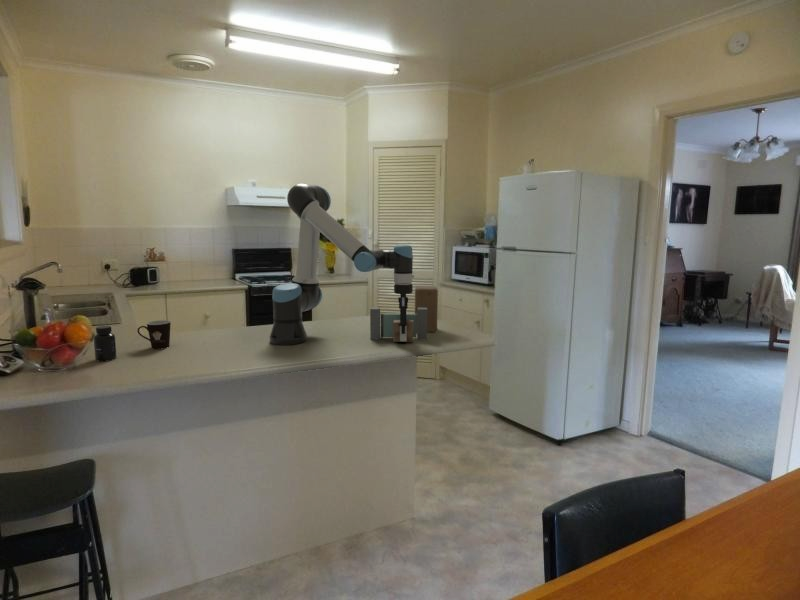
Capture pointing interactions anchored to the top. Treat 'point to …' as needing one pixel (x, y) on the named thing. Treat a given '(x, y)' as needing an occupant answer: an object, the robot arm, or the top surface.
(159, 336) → the coffee mug
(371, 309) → the hinge post
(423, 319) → the post
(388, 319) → the gate
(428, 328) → the wooden block
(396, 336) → the brown rectangular block
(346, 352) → the top surface
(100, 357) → the supplement bottle
